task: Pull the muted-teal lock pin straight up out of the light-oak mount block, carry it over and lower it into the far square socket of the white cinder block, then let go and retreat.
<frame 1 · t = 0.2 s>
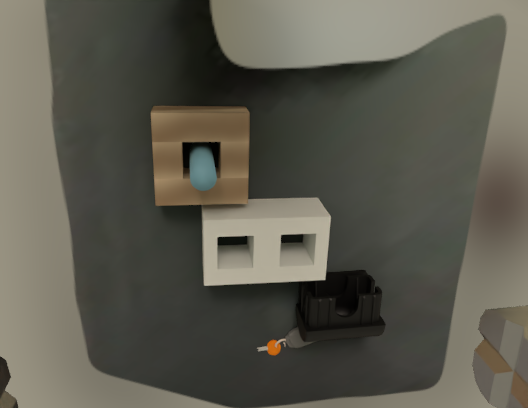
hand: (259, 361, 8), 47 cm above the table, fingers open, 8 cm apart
mount block: (200, 150, 55), on the table
key chain: (284, 338, 67), on the table
lock pin: (201, 163, 50), in the mount block
white cinder block: (259, 229, 60), on the table
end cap: (331, 294, 65), on the table
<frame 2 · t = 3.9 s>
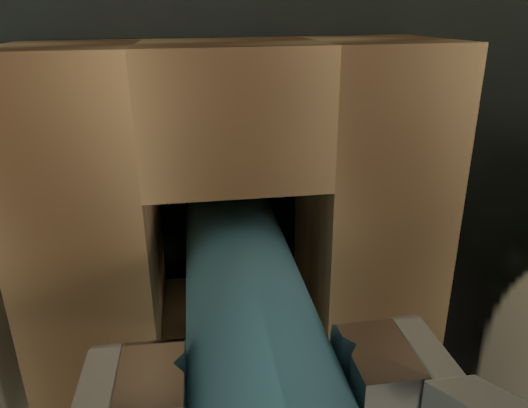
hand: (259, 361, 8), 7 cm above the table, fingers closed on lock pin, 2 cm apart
mount block: (229, 215, 14), on the table
lock pin: (248, 308, 10), in the mount block, touching gripper
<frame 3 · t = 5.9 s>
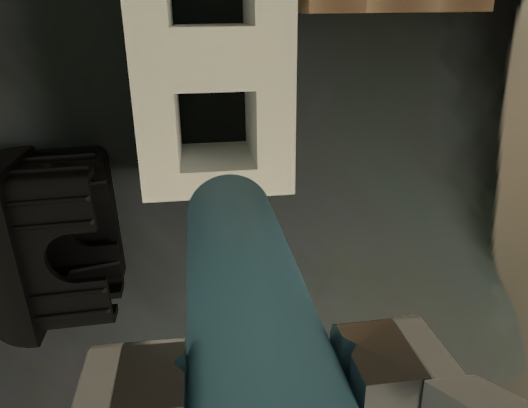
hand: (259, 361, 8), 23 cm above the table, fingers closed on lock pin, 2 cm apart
lock pin: (248, 307, 10), point 22 cm above the table, touching gripper
white cinder block: (209, 50, 29), on the table
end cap: (61, 216, 31), on the table
when the fingers open (8 cm above the table, at t = 8.3 s): lock pin drops 1 cm, resting in white cinder block.
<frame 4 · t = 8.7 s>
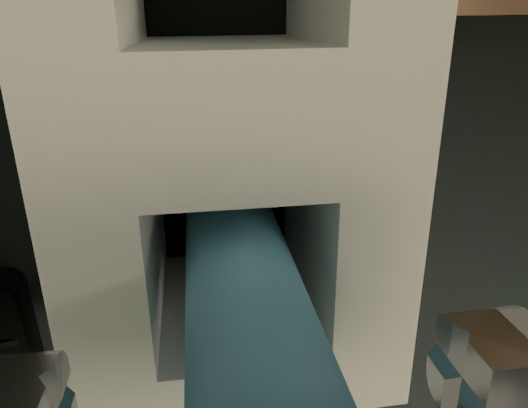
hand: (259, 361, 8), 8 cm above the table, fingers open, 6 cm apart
lock pin: (240, 273, 11), in the white cinder block
white cinder block: (219, 88, 15), on the table
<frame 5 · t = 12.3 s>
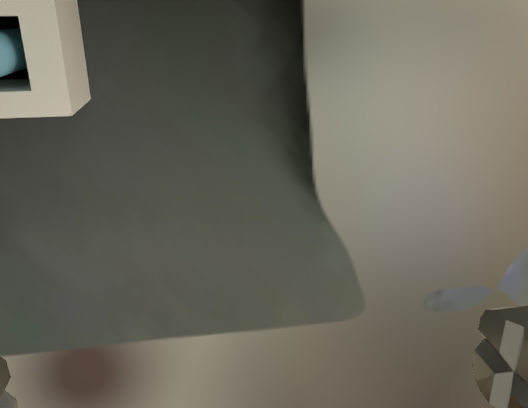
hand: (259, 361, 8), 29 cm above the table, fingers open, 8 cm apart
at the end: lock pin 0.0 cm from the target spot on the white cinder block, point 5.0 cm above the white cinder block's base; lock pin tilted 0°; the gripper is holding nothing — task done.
